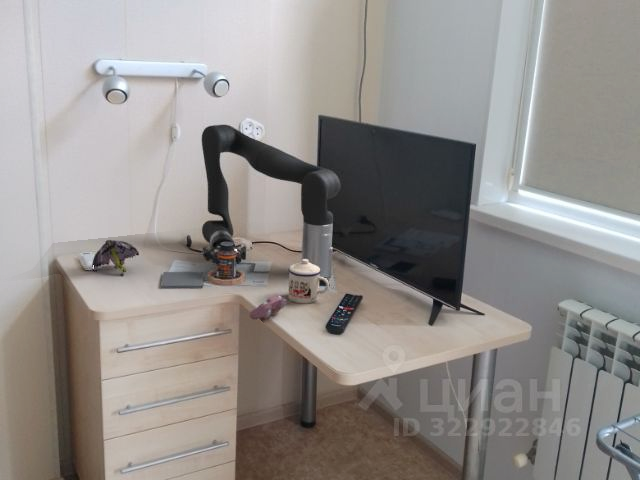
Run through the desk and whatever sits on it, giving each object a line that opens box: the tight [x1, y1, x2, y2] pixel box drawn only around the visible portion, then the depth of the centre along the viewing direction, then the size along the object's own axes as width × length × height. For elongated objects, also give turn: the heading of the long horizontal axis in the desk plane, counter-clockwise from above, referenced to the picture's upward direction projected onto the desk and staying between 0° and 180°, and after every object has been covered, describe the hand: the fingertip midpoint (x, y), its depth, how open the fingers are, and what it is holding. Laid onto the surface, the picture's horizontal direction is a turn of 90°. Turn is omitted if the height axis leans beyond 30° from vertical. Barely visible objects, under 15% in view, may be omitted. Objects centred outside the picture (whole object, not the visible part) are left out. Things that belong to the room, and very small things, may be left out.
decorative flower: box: [91, 239, 140, 277], centre depth 208 cm, size 15×12×15 cm
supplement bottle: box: [216, 242, 237, 280], centre depth 207 cm, size 6×6×11 cm
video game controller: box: [249, 295, 288, 320], centre depth 182 cm, size 10×5×7 cm, turn 144°
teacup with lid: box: [288, 258, 330, 304], centre depth 195 cm, size 12×9×12 cm
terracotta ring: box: [207, 268, 246, 286], centre depth 209 cm, size 11×11×1 cm
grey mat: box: [160, 271, 204, 289], centre depth 205 cm, size 12×12×1 cm
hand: (227, 260), depth 205 cm, fingers closed on supplement bottle, 6 cm apart
